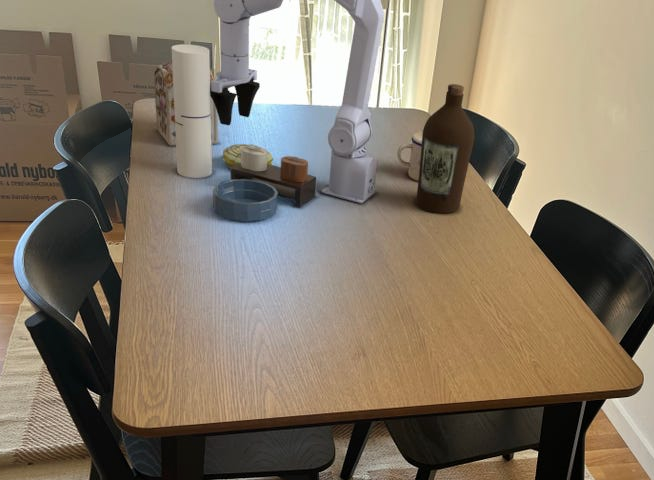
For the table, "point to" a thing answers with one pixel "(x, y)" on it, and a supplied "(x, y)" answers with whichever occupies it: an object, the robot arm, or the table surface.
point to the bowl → (245, 200)
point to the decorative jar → (166, 105)
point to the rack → (279, 183)
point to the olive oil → (445, 155)
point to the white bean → (254, 158)
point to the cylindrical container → (192, 110)
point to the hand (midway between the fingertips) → (234, 120)
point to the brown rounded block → (294, 169)
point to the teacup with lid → (413, 155)
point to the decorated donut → (238, 155)
